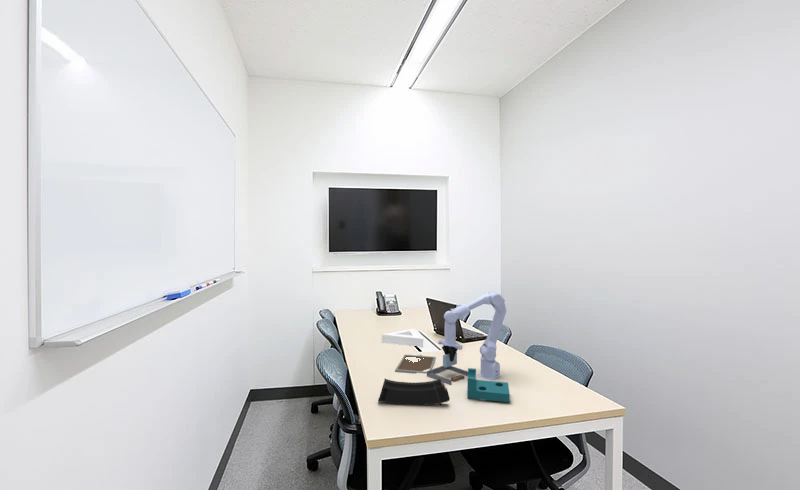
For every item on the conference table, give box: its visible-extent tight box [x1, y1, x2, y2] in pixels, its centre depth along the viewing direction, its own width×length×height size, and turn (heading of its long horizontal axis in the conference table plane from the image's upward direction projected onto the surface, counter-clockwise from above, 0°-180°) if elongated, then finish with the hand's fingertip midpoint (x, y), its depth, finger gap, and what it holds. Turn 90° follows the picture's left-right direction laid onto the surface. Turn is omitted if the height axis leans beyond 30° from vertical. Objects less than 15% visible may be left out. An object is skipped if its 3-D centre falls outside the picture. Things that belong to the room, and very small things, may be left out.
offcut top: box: [450, 374, 465, 382], centre depth 181 cm, size 2×7×1 cm, turn 124°
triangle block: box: [381, 327, 424, 348], centre depth 247 cm, size 30×26×6 cm
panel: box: [442, 351, 458, 368], centre depth 186 cm, size 2×9×6 cm, turn 133°
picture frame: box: [394, 354, 437, 375], centre depth 205 cm, size 19×2×30 cm
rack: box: [426, 365, 468, 386], centre depth 185 cm, size 16×17×3 cm
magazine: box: [377, 378, 451, 407], centre depth 154 cm, size 17×3×30 cm
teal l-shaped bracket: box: [466, 367, 511, 403], centre depth 161 cm, size 18×11×10 cm, turn 78°
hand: (449, 360), depth 186 cm, fingers closed on panel, 2 cm apart
